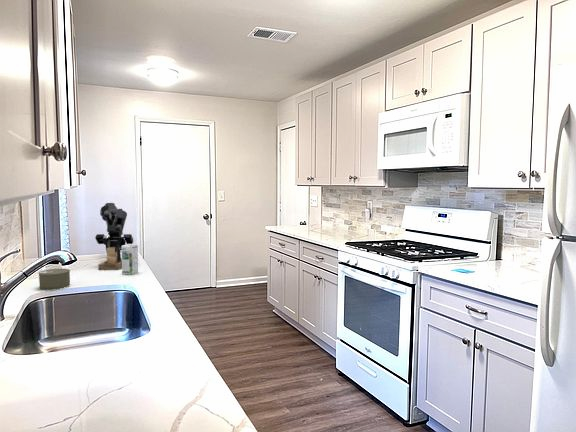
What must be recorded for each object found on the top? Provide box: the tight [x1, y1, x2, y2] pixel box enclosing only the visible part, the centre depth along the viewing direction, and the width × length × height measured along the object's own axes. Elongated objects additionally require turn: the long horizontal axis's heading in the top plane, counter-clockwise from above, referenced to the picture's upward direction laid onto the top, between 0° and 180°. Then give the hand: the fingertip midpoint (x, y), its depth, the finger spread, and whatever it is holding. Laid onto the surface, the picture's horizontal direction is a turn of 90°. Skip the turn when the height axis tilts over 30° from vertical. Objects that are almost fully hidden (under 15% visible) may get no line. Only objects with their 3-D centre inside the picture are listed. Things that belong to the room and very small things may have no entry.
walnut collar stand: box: [98, 260, 122, 271], centre depth 219 cm, size 10×10×3 cm
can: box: [38, 268, 71, 291], centre depth 179 cm, size 12×12×7 cm
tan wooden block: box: [106, 247, 117, 264], centre depth 218 cm, size 4×4×8 cm
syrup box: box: [121, 244, 139, 276], centre depth 205 cm, size 6×6×14 cm
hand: (111, 251), depth 217 cm, fingers closed on tan wooden block, 4 cm apart
